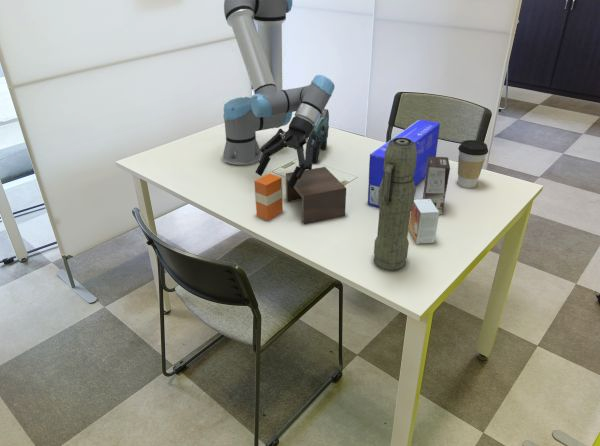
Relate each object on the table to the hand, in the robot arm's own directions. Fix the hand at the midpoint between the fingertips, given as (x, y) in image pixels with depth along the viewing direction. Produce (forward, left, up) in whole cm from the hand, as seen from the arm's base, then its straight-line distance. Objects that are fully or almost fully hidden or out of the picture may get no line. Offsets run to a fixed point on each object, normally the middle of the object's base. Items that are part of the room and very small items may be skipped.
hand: (273, 180), depth 152 cm
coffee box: (+17, +49, -11) cm, 53 cm away
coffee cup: (+7, +70, -11) cm, 71 cm away
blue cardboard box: (0, +48, -11) cm, 49 cm away
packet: (+2, -2, -11) cm, 11 cm away
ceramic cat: (-37, +31, -11) cm, 50 cm away
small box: (+31, +36, -11) cm, 48 cm away
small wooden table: (+3, +13, -11) cm, 17 cm away
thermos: (+39, +21, -11) cm, 45 cm away
